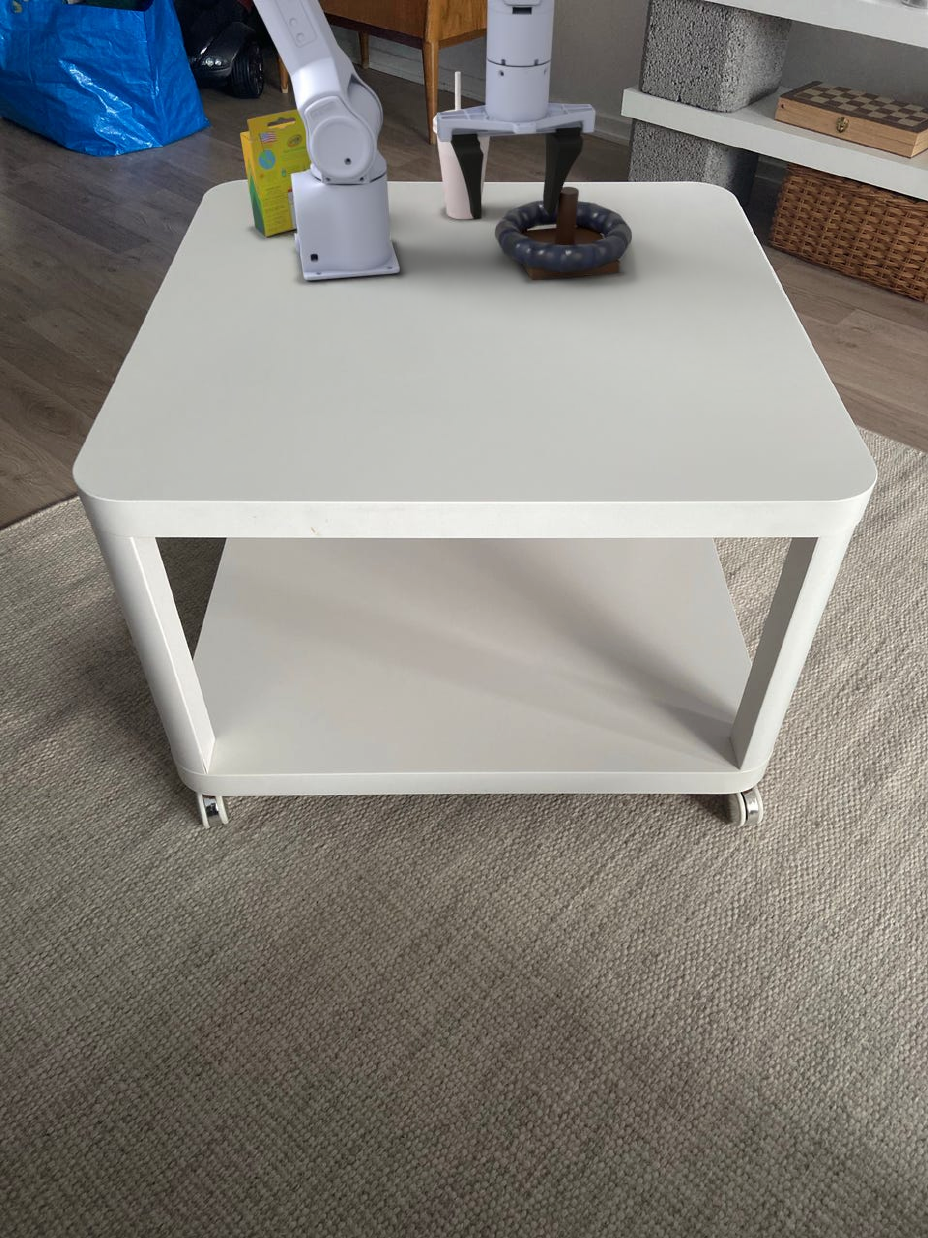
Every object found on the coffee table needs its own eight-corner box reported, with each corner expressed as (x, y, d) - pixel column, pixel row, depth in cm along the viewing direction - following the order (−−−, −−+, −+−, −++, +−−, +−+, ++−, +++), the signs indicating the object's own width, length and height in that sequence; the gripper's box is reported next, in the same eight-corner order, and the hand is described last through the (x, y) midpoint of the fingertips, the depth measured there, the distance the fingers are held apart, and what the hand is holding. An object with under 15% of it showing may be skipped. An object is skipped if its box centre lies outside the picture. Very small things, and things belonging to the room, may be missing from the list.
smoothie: (436, 200, 110) (434, 62, 100) (493, 201, 110) (496, 63, 100) (432, 223, 105) (429, 81, 95) (491, 224, 105) (494, 82, 95)
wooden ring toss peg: (531, 280, 96) (534, 211, 91) (511, 242, 102) (513, 176, 97) (619, 272, 97) (627, 204, 92) (593, 235, 103) (600, 170, 98)
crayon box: (315, 213, 107) (303, 98, 99) (327, 222, 105) (316, 106, 97) (253, 228, 104) (235, 110, 96) (264, 237, 103) (247, 119, 94)
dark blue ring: (512, 280, 93) (513, 256, 91) (484, 224, 102) (484, 200, 101) (646, 269, 95) (649, 245, 93) (606, 214, 104) (608, 191, 102)
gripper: (445, 75, 82) (446, 234, 91) (610, 66, 84) (595, 223, 93) (432, 51, 87) (434, 205, 96) (588, 44, 89) (575, 195, 98)
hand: (512, 212), depth 95 cm, fingers open, 7 cm apart
